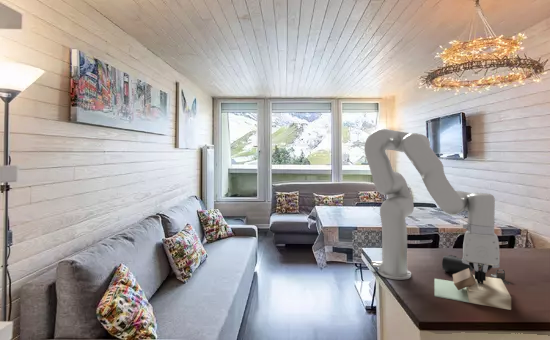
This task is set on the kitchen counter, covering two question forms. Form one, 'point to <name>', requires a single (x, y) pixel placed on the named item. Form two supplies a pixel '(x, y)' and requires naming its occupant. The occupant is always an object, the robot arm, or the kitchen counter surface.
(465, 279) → the brown box
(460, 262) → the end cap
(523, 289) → the kitchen counter surface
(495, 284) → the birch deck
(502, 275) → the strap clip
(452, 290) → the mat
